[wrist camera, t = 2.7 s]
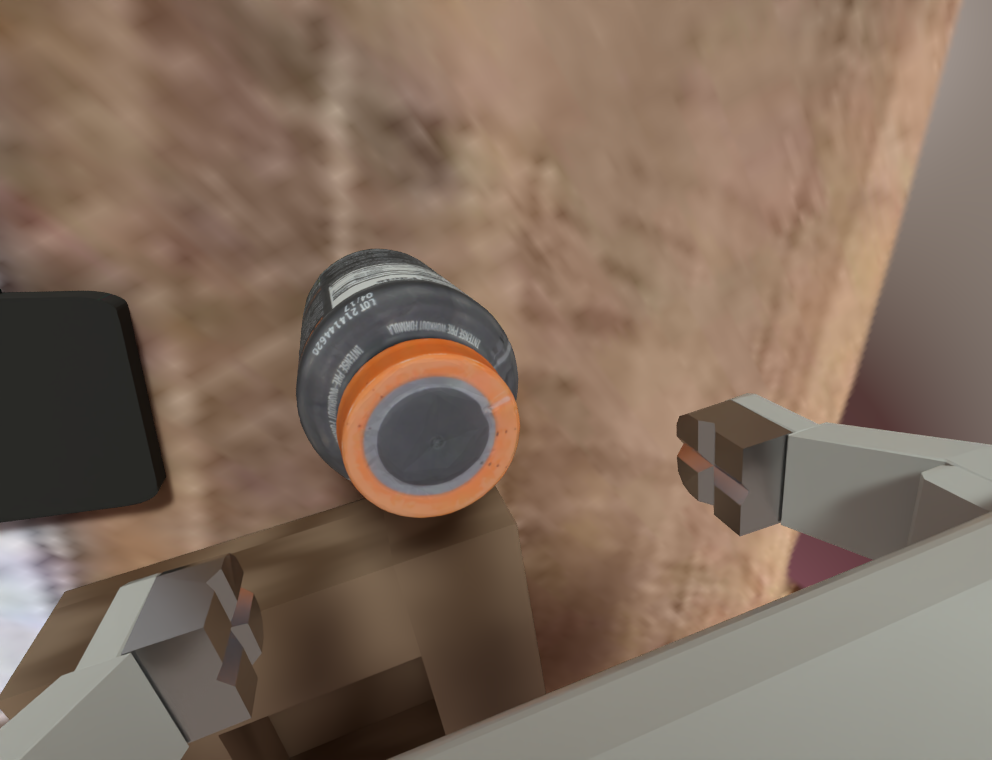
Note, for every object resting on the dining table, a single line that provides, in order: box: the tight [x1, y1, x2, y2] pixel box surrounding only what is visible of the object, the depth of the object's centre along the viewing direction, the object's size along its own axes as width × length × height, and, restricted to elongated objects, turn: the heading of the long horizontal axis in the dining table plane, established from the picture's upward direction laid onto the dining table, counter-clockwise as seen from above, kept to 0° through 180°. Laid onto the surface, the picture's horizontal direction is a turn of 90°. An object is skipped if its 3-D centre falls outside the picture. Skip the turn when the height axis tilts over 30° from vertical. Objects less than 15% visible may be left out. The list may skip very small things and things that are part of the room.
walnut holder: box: [0, 486, 546, 760], centre depth 24 cm, size 18×18×5 cm
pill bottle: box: [296, 249, 520, 518], centre depth 16 cm, size 6×6×11 cm
